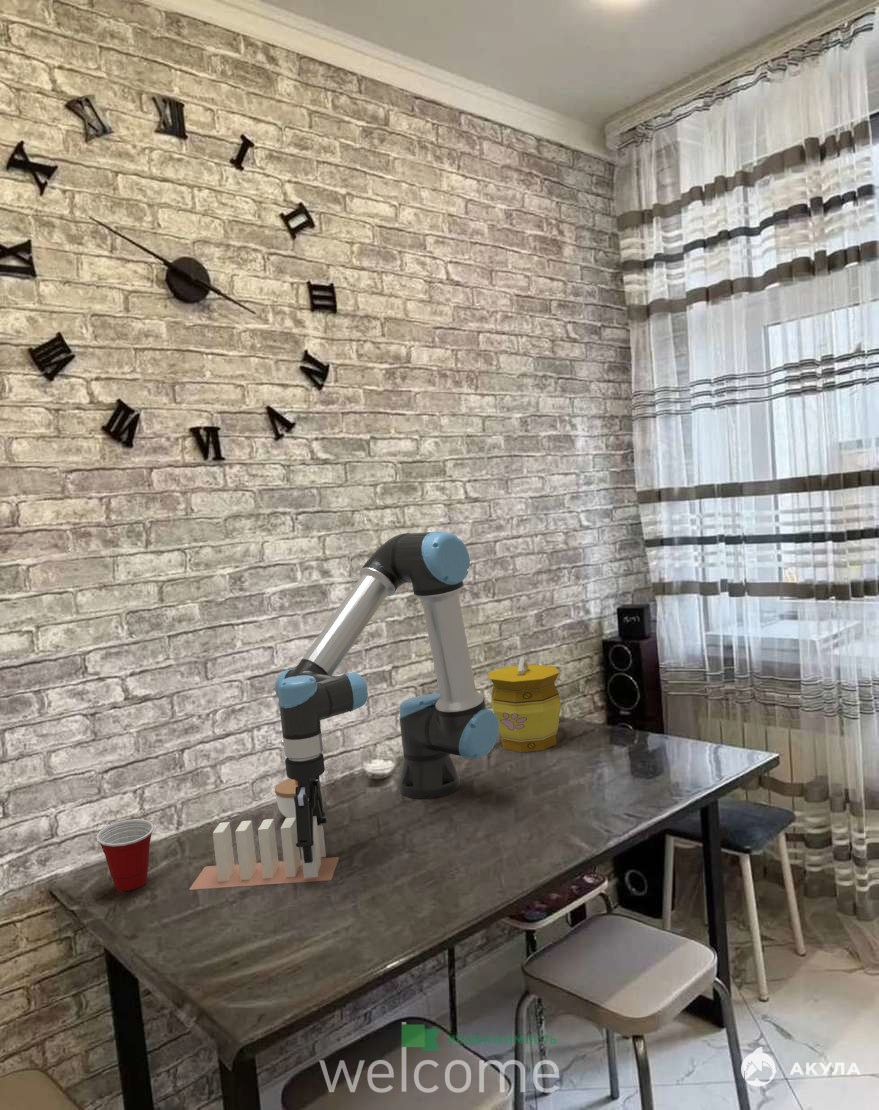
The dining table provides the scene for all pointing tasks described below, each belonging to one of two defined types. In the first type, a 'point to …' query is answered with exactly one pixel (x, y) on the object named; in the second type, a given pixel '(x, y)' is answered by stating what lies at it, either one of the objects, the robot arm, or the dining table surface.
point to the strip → (210, 878)
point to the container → (526, 706)
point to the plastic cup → (127, 852)
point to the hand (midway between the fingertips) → (315, 866)
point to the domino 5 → (316, 841)
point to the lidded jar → (287, 797)
